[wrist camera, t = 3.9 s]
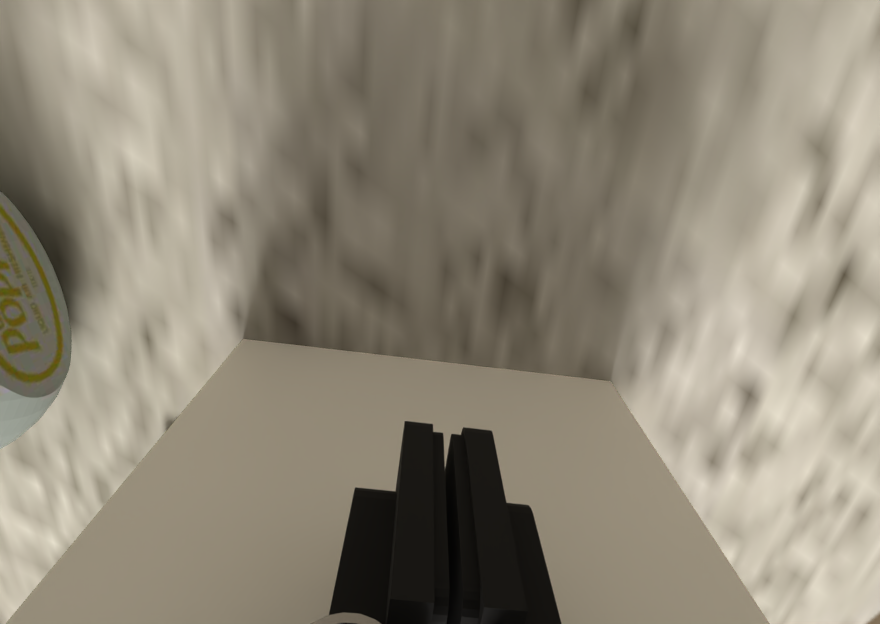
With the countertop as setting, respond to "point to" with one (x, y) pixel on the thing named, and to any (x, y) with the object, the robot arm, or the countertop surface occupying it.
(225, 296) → the countertop surface
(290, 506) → the tile
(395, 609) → the robot arm
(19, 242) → the air freshener
